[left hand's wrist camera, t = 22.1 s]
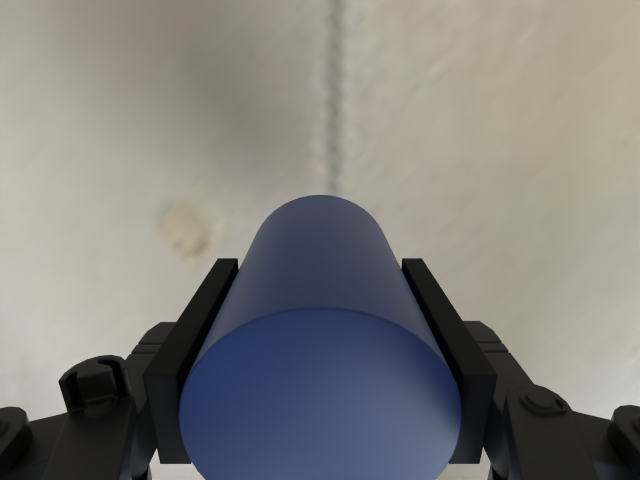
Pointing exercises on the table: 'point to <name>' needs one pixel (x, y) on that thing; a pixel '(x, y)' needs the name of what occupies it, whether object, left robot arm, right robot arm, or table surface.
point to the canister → (320, 361)
